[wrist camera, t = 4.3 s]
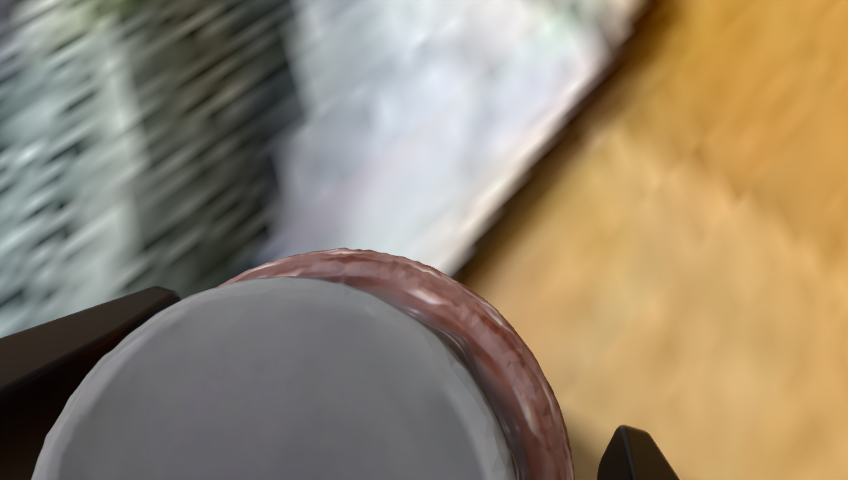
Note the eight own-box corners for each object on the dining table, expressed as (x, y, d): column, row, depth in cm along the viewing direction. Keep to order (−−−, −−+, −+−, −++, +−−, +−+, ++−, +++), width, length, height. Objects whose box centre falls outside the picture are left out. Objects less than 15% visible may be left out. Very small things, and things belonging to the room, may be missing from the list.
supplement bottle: (488, 308, 16) (578, 112, 5) (532, 544, 15) (794, 978, 4) (273, 343, 16) (-91, 218, 5) (293, 583, 14) (-173, 1141, 4)
